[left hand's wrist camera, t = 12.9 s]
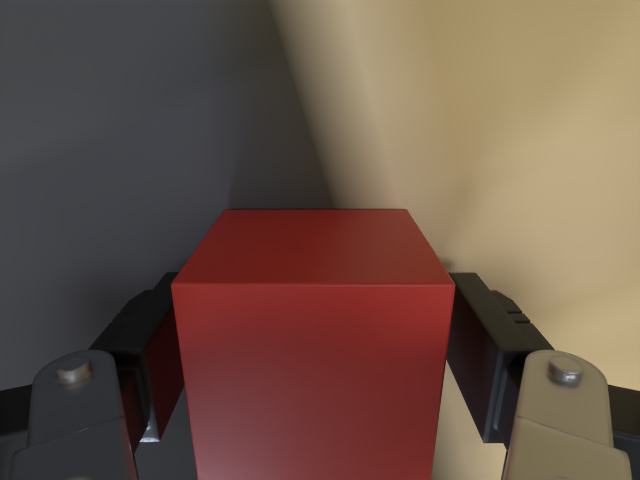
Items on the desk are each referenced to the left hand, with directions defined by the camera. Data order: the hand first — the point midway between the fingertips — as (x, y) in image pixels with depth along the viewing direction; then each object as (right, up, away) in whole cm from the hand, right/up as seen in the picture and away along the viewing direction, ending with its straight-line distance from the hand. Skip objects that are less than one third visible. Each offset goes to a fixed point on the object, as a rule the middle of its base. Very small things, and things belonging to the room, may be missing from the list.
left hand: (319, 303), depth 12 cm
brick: (0, 0, +1) cm, 1 cm away
